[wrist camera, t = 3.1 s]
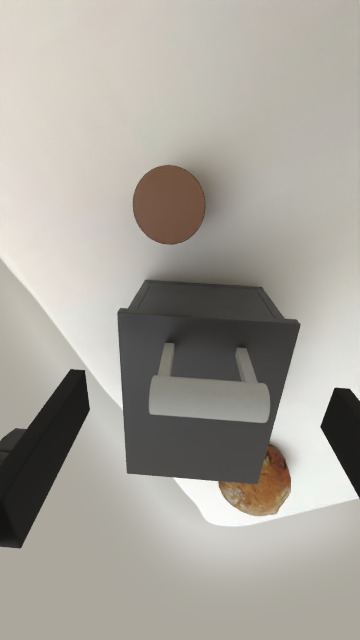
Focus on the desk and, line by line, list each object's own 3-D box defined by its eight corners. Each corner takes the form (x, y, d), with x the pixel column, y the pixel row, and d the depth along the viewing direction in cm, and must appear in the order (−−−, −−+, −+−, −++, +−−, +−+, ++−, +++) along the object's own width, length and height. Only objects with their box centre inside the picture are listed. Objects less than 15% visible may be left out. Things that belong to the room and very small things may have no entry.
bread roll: (212, 453, 43) (211, 513, 38) (224, 434, 35) (225, 507, 30) (272, 460, 43) (279, 521, 38) (298, 443, 35) (312, 518, 30)
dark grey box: (145, 280, 28) (121, 319, 19) (261, 287, 27) (293, 330, 18) (146, 396, 34) (128, 465, 25) (240, 403, 34) (256, 475, 25)
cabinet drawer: (120, 307, 18) (82, 363, 12) (296, 319, 18) (349, 382, 12) (128, 465, 25) (107, 551, 19) (256, 476, 25) (275, 567, 19)
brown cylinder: (145, 176, 24) (126, 169, 17) (201, 170, 23) (203, 160, 17) (153, 234, 26) (138, 247, 19) (204, 230, 25) (207, 241, 19)
